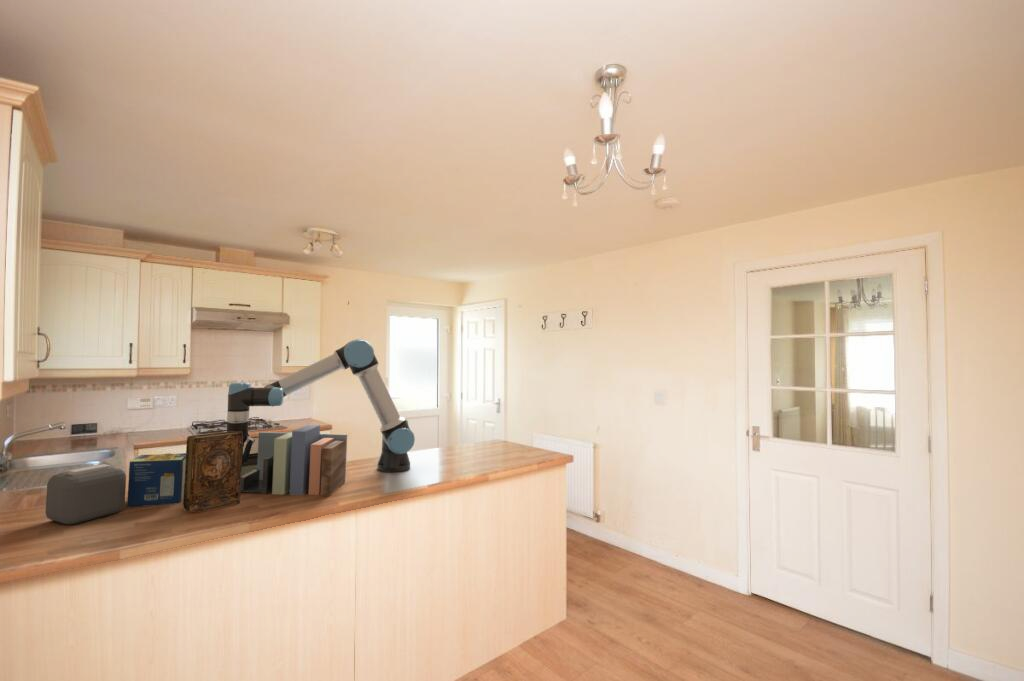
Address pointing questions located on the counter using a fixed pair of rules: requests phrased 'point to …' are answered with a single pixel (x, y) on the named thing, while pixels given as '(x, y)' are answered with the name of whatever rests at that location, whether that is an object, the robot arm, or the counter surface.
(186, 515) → the counter surface
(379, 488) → the counter surface
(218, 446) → the book
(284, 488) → the green book
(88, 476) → the grey rounded-edge box
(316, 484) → the terracotta book
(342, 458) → the end stop
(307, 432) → the navy book
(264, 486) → the bookend
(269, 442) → the back rail
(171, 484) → the protein box
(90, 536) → the counter surface
